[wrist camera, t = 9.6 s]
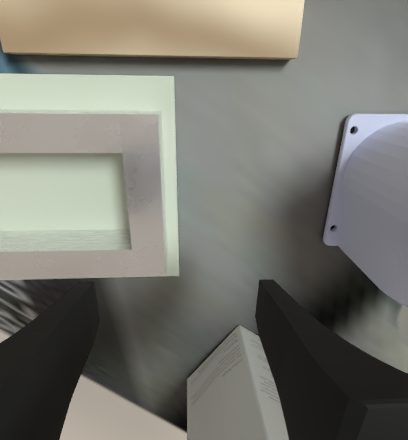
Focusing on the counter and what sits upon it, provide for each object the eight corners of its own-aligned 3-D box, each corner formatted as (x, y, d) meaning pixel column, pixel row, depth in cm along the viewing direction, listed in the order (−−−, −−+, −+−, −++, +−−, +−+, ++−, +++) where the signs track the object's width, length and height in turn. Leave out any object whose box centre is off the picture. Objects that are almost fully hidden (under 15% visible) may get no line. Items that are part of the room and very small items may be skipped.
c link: (167, 252, 22) (165, 275, 20) (1, 255, 22) (-26, 280, 19) (161, 110, 18) (157, 114, 16) (-43, 108, 18) (-86, 112, 15)
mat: (179, 273, 24) (179, 276, 23) (-5, 277, 23) (-8, 280, 22) (174, 76, 18) (173, 76, 18) (-71, 72, 17) (-77, 72, 17)
